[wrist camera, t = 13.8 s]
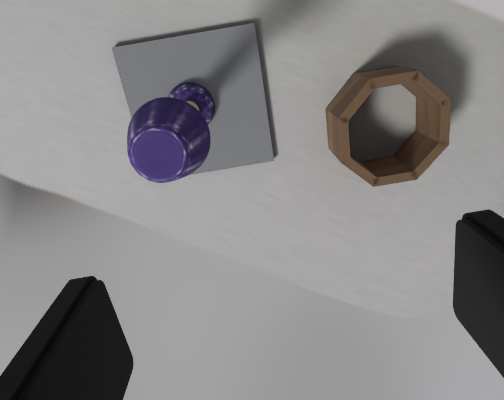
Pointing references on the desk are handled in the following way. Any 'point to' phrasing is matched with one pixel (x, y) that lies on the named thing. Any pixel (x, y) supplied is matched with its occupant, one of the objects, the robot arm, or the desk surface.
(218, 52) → the mat
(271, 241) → the desk surface
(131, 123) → the toy lamp
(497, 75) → the desk surface
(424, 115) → the holder ring
